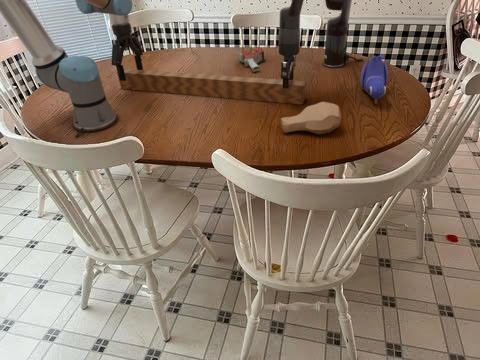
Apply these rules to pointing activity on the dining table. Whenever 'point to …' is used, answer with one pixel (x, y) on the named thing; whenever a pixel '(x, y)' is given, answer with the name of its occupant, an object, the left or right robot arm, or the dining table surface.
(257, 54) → the tape dispenser
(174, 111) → the dining table surface
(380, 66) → the toy
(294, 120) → the squash
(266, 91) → the bar
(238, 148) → the dining table surface
